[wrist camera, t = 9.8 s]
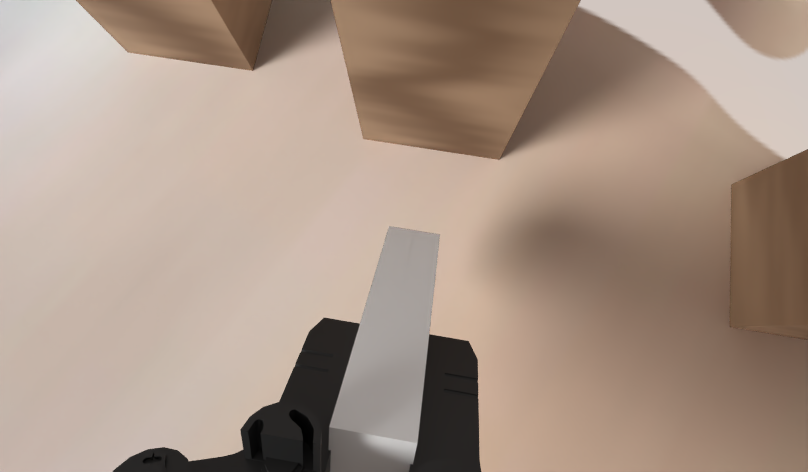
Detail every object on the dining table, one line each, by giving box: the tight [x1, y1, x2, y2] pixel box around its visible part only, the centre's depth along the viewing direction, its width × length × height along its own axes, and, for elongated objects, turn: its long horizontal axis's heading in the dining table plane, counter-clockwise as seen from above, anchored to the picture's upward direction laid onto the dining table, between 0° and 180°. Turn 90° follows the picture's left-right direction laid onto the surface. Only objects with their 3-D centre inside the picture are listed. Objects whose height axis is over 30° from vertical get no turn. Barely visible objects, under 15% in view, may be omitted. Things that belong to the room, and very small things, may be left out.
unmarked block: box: [331, 0, 580, 160], centre depth 15 cm, size 6×6×10 cm
